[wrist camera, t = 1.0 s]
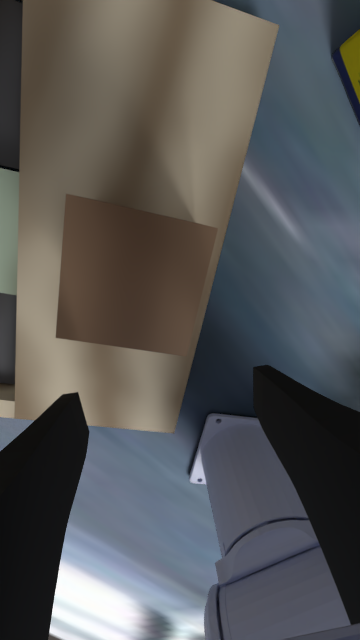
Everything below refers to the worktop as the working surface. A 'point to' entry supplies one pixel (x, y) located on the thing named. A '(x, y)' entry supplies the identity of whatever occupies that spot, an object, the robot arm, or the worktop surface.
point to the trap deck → (113, 174)
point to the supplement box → (350, 69)
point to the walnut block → (130, 276)
